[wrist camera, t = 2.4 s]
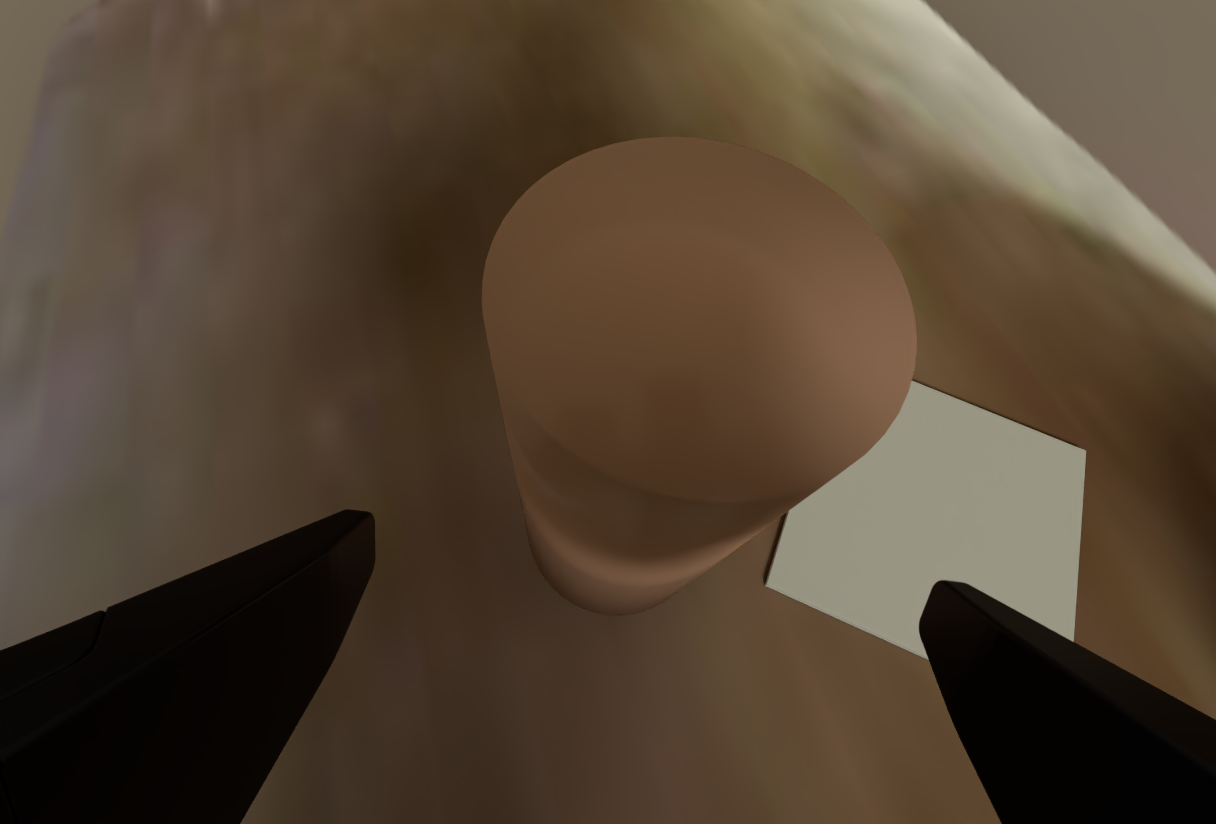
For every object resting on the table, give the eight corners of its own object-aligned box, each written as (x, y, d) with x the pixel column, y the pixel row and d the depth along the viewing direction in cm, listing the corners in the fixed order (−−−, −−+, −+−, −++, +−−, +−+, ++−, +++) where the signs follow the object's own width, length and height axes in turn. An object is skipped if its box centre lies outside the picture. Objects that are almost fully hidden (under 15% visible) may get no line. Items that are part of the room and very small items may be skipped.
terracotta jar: (619, 657, 18) (738, 615, 6) (490, 522, 19) (386, 280, 8) (737, 522, 20) (993, 300, 8) (612, 410, 21) (679, 85, 10)
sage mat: (1063, 721, 18) (1068, 721, 18) (764, 585, 19) (766, 584, 19) (1081, 452, 22) (1086, 450, 22) (835, 353, 23) (838, 350, 23)
